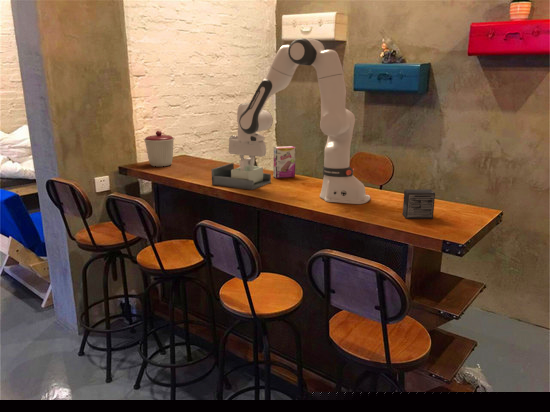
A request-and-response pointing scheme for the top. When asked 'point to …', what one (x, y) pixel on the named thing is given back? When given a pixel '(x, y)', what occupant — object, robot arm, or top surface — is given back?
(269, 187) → the top surface
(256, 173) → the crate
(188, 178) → the top surface
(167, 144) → the canister
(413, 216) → the small box
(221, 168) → the bay
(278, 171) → the candy bar box
